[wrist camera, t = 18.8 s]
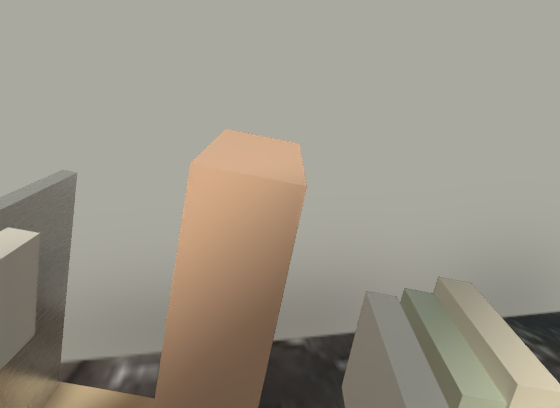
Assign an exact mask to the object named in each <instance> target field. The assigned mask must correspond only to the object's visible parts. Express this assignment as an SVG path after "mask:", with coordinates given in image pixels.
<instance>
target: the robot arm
mask: <svg viewBox="0 0 560 408" xmlns="http://www.w3.org/2000/svg"><path fill="white" fill-rule="evenodd" d="M39 244H40V233H37V232H32V231H26V230H21V229H15V228H9V227H7V228H6V229H4V230H2V231H0V370H1V369H2V368H3V367H4V366H5V365H6V364H7V363H8V362H9V361H10V360H11V359H12V358H13V357H14V356H15V354H16V353H17V352H18V351H19V350H20V349H21V348H22V347H23V346H24V345H25V344H26V343H27V342H28V341H29V340H30V339H31V338H32V337H33V336H34V335H35V323H36V303H37V283H38V263H39ZM342 392H343V398H344V404H345V408H449V406H448V404H447V402H446V400H445V398H444V396H443V393H442V391H441V389H440V387H439V385H438V383H437V381H436V379H435V376H434V374H433V372H432V370H431V368H430V366H429V364H428V362H427V359H426V357H425V355H424V353H423V351H422V349H421V347H420V345H419V342H418V340H417V338H416V336H415V334H414V332H413V330H412V328H411V325H410V323H409V321H408V319H407V317H406V315H405V313H404V311H403V308H402V306H401V304H400V302H399V300H398V298H397V297H396V296H391V295H385V294H380V293H374V292H368V291H366V294H365V298H364V302H363V305H362V309H361V313H360V317H359V321H358V325H357V329H356V333H355V337H354V340H353V344H352V348H351V352H350V356H349V360H348V364H347V368H346V372H345V376H344V379H343V383H342Z"/></svg>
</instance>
